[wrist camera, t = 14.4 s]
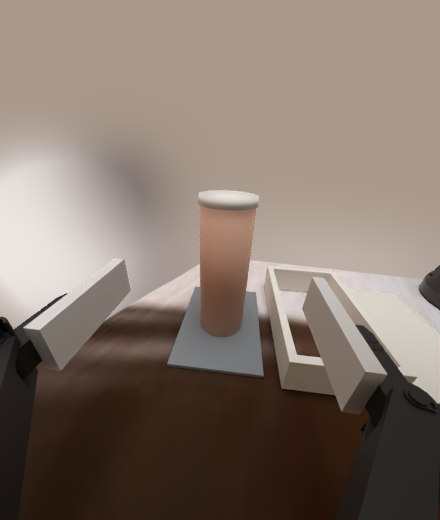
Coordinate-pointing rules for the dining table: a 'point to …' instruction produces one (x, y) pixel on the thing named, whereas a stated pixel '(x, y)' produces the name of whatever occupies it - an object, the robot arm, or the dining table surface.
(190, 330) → the felt mat
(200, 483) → the dining table surface
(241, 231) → the tube
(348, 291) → the white holder tray
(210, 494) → the dining table surface
